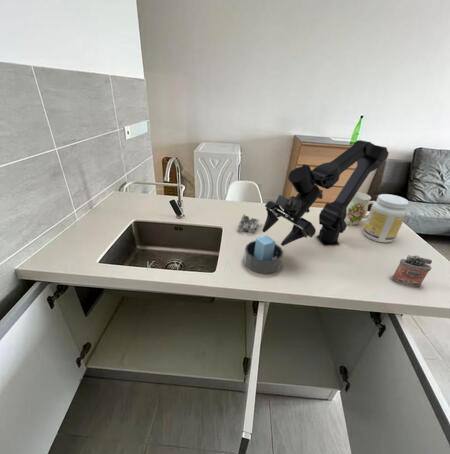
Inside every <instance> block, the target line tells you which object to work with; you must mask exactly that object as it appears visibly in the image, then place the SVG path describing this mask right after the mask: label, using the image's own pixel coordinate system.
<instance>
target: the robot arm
mask: <svg viewBox="0 0 450 454" xmlns="http://www.w3.org/2000/svg"><path fill="white" fill-rule="evenodd" d="M388 157H389V151H388V148H387V146H383V145H382V146H381V145H378V144H377V145H376V144H374V143H372V142H371V141H366V140H361V139H359V140H356V141H354V143H353V145H351V146H350V147H349V148H347V149H346V150H344V152H342V153H340V154H339V155H338V156H337V157H335V158H334V159H333V160H331V161H329V162H323V163H321V164H319V165H317V166H315V167H314V168H313V169H311V167H310V165H308V164H305V163H303V164H302V166H298V167H296V168H294V169H292V170H291V171H290V172H289V173H288V175H287V176H288V177H287V179H288V181H289V182H290V184H291V186H292V187H293V188H294V190H295V192H297V194H296V195H295V196H294V195H292V196H290V197H289V198H288V197H286V196H284V195H281V194H279V195H278V197H277V199H276V201H273V200H269V201H267V202H266V204H265V205H264V207H265V210H266V212H267V216H266V220H265V222H264V224H263V227H262V232H263V233H266V232H268V230H269V229H271V227H273V226H274V225H275V224H276V223H277V222H279V218H281V217H282V218H283V219H285V220H287V221H288V222H290V223H292V228H291V229H292V230H290V232H289V233H288V234H286V236H285V238H284V239H283V240H282V241H281V243H280V245H281V246H282V247H284V246H286V245H288V244H290V243H292V242H295V241H297V240H299V239H302V238H306V239H307V238H308V237H309V238H313V237H314V236H315V234H316V232H317V229H316V228H315V226H314V225H313V223H312V222H311V221H310V220H307V219H305V218H304V217H303V216H304V215H305V214H309V213H310V211H311V210H310V208H311V207H312V205H313V204H314V203H315V202H316V200H317V199H320V200H323V191H324V190H322V189H320V188H323V189H326V190H330V189H332V188H333V187H334V186H335V184H336V183H338V182H339V180H340V176H341V175H342V173H344V172H345V171H346V170H348V169H349V168H350V167H351V166H353V165H354V164H355V163H356V167H355V169H354V170H353V172H352V173H351V175H350V176H349V177H348V179H347V181H346V183H345V184H344V186H343V187H342V188H341V190H340V191H339V193H338V195H337V196H336V198H335V199H334V200H333V201H332V202H327V203H325V205H324V206H323V208H322V209H321V211H320V213H319V215H318V221H319V222H318V224H319V225H321V229H319V232H318V235H316V238H317V239H318V240H319V241H320V242H321V244H322V245H324V246H335V245H337V246H338V245H340V242H339V241H338V240H339V236H340V234H343V233H344V232H345V231H346V229H347V227H348V224H346V223H345V221H344V220H345V218H346V208H347V206H348V205H349V203H350V202H351V200H352V199H353V197H354V196H355V194H356V193H357V192H359V190H360V188H361V187H362V185H363V184H364V182H365V181H366V180H367V178H368V176H369V175H370V173H372V172H373V171H375V170H378V169H379V168H380V167H381V166H382V164H383V163H384V162H385V161H386V160H387V159H388Z"/></svg>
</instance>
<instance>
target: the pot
mask: <svg viewBox="0 0 450 454" xmlns="http://www.w3.org/2000/svg"><path fill="white" fill-rule="evenodd" d="M255 243H256V240H252V241H250V242H248V243H247V244H246V245H245V248H244V256H243V262H244V265H245V267H246V268H247V269H248V270H250V271H251V272H253V273H255V274H258V275H272V274H275V273H278V271H279V270H280V269H281V266H282V261H283V258H284V251H283V249H282V247H281V246H279V245H278V244H277V243H275V247H274V252H273V258H272V260H269V261H265V260H259V259H257V258H254V251H255Z"/></svg>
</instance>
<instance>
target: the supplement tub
mask: <svg viewBox="0 0 450 454" xmlns="http://www.w3.org/2000/svg"><path fill="white" fill-rule="evenodd" d="M409 203H410V202H409V200H408V199H406V198H404V197H402V196H399V195H395V194H390V193H389V194H388V193H380V194H379V195H378V196H377V198H376V200H375V202H374V203H373V204H371V207H370V210H369V213H368V214H369V215H368V214H367V215H368V218H366V220H365V223H364V226H363V228H362V233H363V234H364V236H365V237H367V238H368V239H370V240H371V241H375V242H378V243H391V242H393V241H395V239H396V238H397V235H398V233H399V231H400V228H401V227H402V224H403V222H404V221H405V218H406V216H407V214H408V209H407V208H408V206H409Z"/></svg>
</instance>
